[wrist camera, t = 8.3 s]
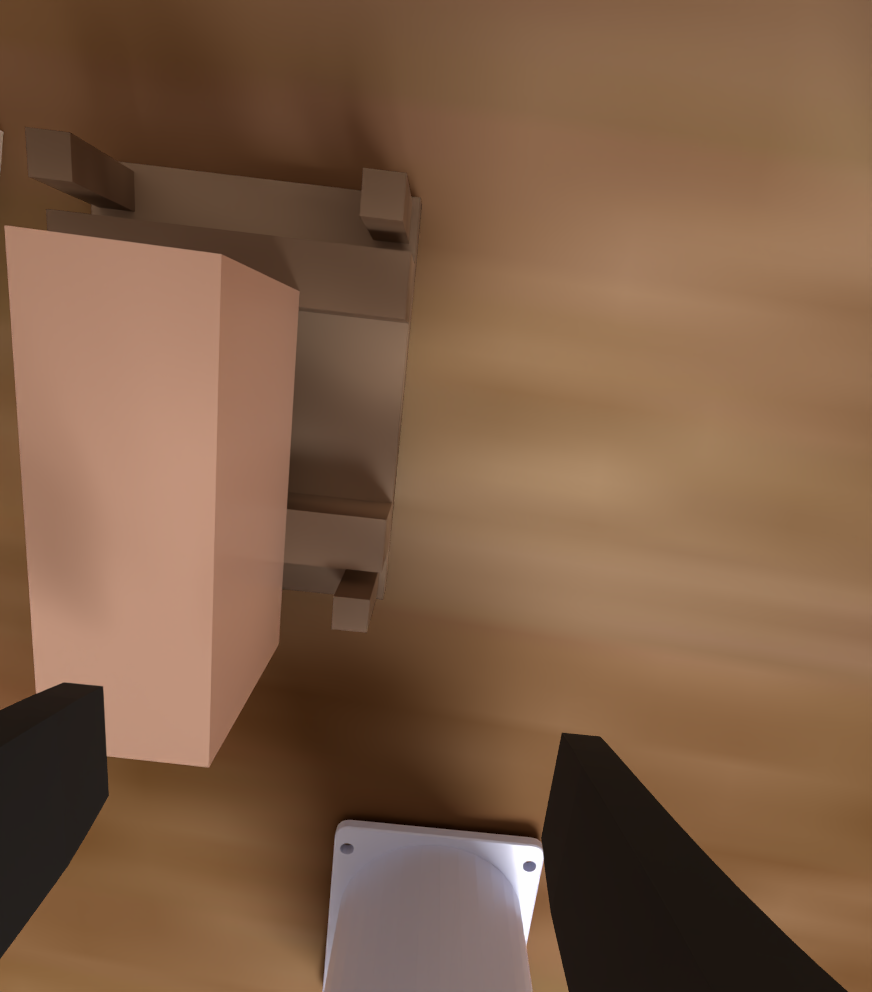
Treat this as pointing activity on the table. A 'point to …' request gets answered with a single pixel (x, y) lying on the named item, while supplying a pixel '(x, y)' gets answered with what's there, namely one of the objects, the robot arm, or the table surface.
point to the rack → (320, 334)
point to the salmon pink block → (152, 478)
